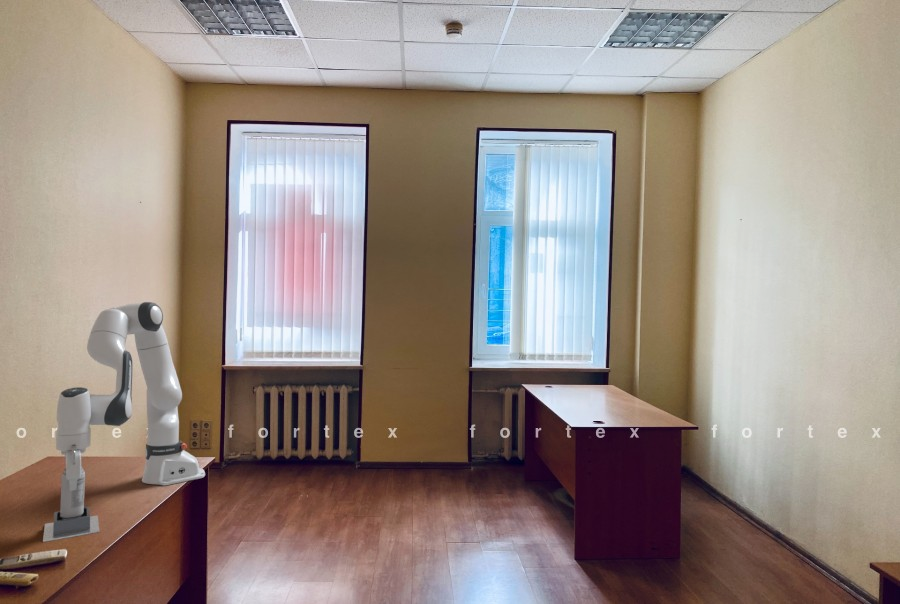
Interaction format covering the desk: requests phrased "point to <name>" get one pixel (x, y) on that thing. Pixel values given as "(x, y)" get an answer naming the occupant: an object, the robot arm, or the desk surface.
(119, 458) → the desk surface
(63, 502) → the energy drink can
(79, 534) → the socket
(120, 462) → the desk surface
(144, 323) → the robot arm
